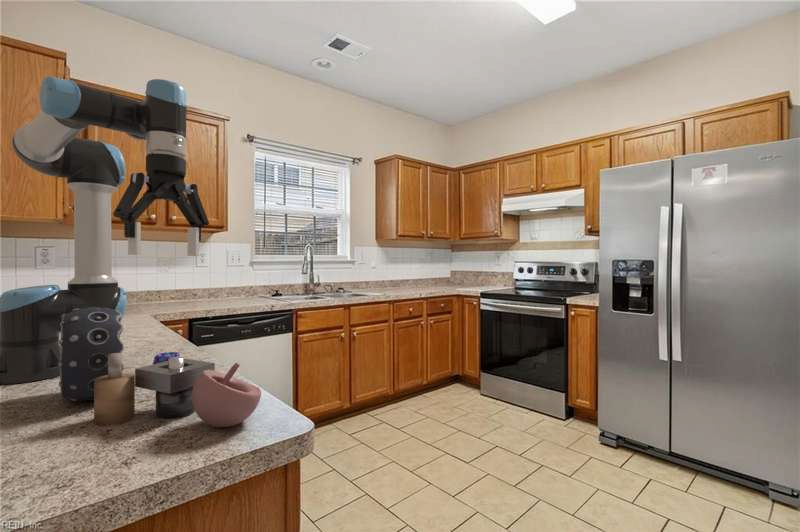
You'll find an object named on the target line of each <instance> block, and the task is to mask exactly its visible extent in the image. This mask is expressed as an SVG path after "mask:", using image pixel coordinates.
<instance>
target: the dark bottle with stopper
mask: <svg viewBox="0 0 800 532" xmlns="http://www.w3.org/2000/svg"><path fill="white" fill-rule="evenodd" d="M184 358H185V357H184V356H180V357H172V358H169V359H168V369H172V370H175V369H179V368H183V367H184ZM193 387H194V386H193ZM193 387H190V388H187V389H184V390H181V391H178V392H175V393H172V394H169V393H164V392H159V391H155V418H156V419H159V420H177V419H181V418H184V417H188V416H190V415H193V414H194V412H195V410H194V407H193V404H192V391H193ZM195 413H196V412H195Z"/></svg>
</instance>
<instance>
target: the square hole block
mask: <svg viewBox="0 0 800 532" xmlns="http://www.w3.org/2000/svg"><path fill="white" fill-rule="evenodd" d="M215 365H216V364H215V362H210V361H205V360H204V361H203V360H198V359H197V360H196V359H192V358H191V359H189V358H185V357H184V367H183V368H179V369H175V370H172V369H168V361H166V362H162V363H157V364H153V363H152V364H149V365H145V366H140V367H137V368H135V369H134V375H135V388H140V389H145V390H149V391H155V392H156V391H159V392H164V393H169V394H172V393H175V392H178V391H181V390H184V389H187V388H190V387H193V386H194V384H195V382H196V380H197V379H198V377H199V376H200V375H201V373H202V372H203V371H204V370H213V371H216V370H215Z"/></svg>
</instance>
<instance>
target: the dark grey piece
mask: <svg viewBox="0 0 800 532" xmlns="http://www.w3.org/2000/svg"><path fill="white" fill-rule="evenodd" d="M61 318H62V322H61V323H60V326H61V332H60V338H59V345H60V362H59V363H58V366H59V367H60V375H59V382H58V386H59V388H60V393H59V397H60V398H63V399H65V400H71V401H73V402H76V401H77V402H78V401H82V402H83V401H84V402H85V401H94V380H95V379H96V378H98V377H101V376H105V375H108V355H109V354H113V353H123V351H124V350H125V349H124V346H125V345H124V343H123V342H122V341H121V334H122V332H123V331H124V325H123V324H122V323H121V322H122V320H120V319H121V318H122V314H121V312H119V311H117V310H113V309H109V308H97V307H94V308H84V309H74V310H72V311H71V312H70V313H68V314H63V315H62V316H61ZM122 319H123V318H122ZM124 366H125V365H124V363H123V362H122V372H123V371H124Z"/></svg>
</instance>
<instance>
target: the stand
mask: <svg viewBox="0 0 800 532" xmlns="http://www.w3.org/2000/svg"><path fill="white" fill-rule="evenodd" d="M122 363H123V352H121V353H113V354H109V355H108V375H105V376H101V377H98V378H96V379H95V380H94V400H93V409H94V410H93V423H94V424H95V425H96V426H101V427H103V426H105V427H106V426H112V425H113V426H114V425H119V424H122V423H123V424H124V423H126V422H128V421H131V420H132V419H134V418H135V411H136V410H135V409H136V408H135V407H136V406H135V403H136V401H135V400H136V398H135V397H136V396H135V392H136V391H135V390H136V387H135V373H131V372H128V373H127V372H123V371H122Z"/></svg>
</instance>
